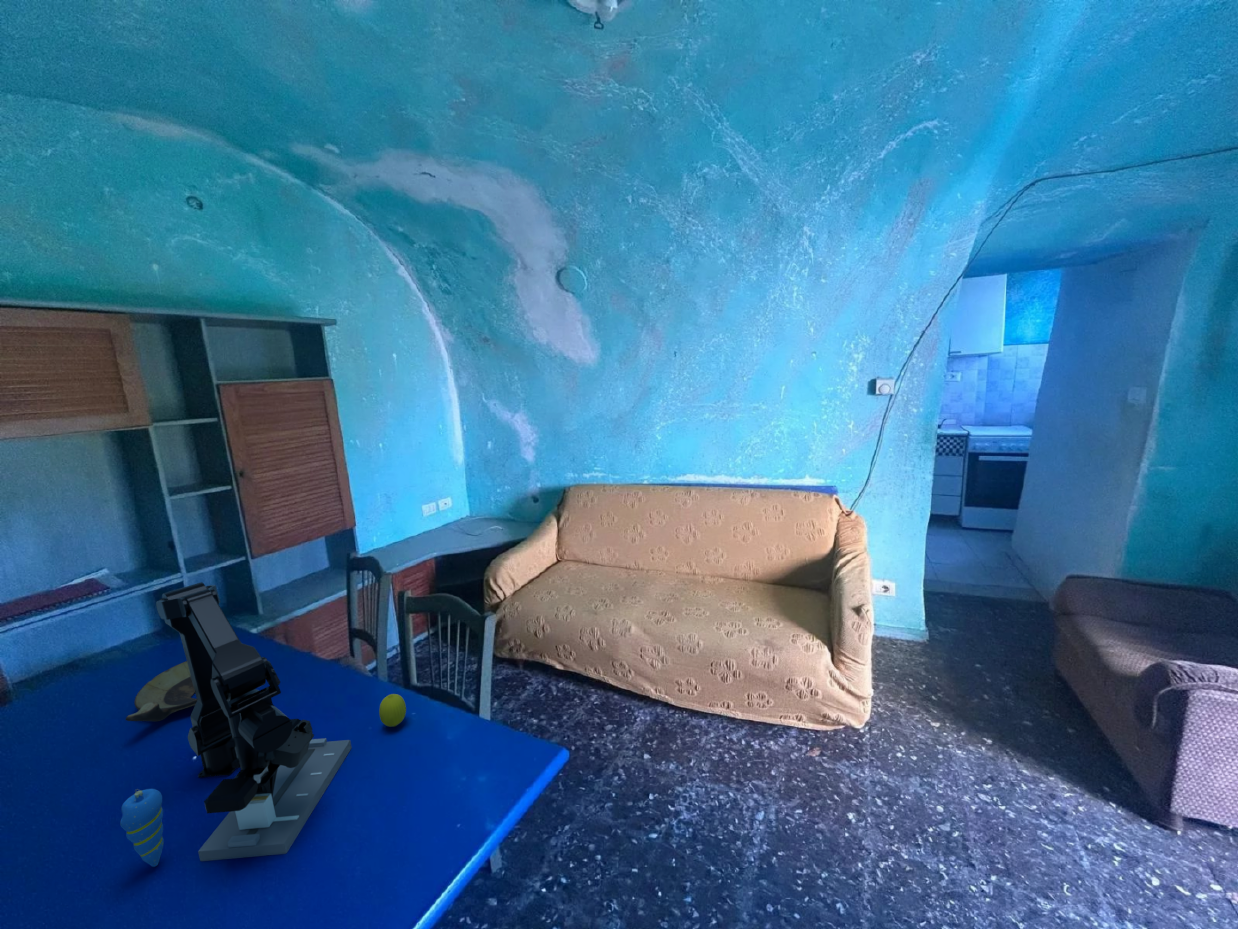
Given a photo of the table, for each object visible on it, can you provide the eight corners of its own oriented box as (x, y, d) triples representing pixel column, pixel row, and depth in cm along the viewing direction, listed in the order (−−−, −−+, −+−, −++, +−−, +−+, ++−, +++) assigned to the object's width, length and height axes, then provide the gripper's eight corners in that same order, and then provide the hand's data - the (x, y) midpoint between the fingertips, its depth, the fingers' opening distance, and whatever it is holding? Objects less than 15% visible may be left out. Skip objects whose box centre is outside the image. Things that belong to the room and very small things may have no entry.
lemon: (398, 736, 112) (393, 704, 110) (376, 733, 113) (371, 701, 111) (413, 718, 117) (408, 688, 115) (392, 716, 118) (387, 686, 116)
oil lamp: (274, 671, 139) (269, 646, 137) (148, 751, 110) (140, 721, 109) (214, 661, 145) (208, 637, 143) (80, 735, 116) (72, 706, 115)
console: (200, 861, 84) (196, 846, 84) (284, 753, 108) (282, 741, 107) (286, 853, 85) (283, 838, 84) (351, 748, 109) (349, 735, 108)
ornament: (153, 852, 86) (133, 777, 83) (185, 849, 87) (165, 774, 84) (127, 882, 81) (104, 804, 78) (160, 879, 82) (139, 800, 79)
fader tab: (239, 829, 87) (233, 804, 86) (247, 819, 89) (241, 794, 88) (269, 827, 88) (263, 802, 87) (276, 817, 90) (270, 792, 89)
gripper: (265, 763, 80) (283, 845, 83) (326, 689, 98) (338, 758, 101) (192, 769, 79) (212, 852, 82) (266, 693, 97) (281, 763, 100)
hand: (268, 801), depth 91 cm, fingers closed
